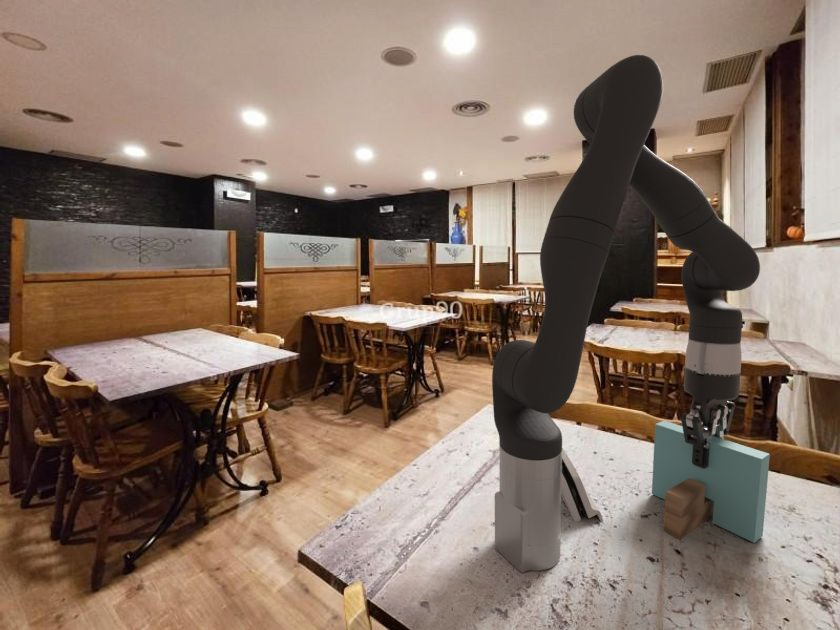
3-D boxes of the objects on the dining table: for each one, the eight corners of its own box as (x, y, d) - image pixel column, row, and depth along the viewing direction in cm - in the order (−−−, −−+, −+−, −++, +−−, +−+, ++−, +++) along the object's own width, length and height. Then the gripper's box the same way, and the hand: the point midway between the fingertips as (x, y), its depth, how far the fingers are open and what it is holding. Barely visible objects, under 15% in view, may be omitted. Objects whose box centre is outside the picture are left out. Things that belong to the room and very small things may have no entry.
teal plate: (651, 493, 76) (655, 424, 74) (660, 488, 77) (664, 420, 75) (754, 543, 62) (761, 459, 60) (762, 536, 63) (769, 453, 62)
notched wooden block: (679, 539, 63) (681, 498, 63) (663, 530, 66) (665, 491, 65) (736, 499, 73) (739, 464, 73) (721, 492, 76) (723, 458, 75)
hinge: (604, 521, 68) (585, 471, 67) (577, 530, 69) (559, 479, 68) (572, 471, 85) (557, 430, 84) (551, 478, 85) (535, 437, 84)
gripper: (707, 356, 73) (701, 444, 75) (665, 368, 66) (660, 465, 68) (757, 365, 66) (749, 461, 69) (717, 379, 59) (709, 485, 62)
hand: (705, 462), depth 68 cm, fingers open, 3 cm apart
